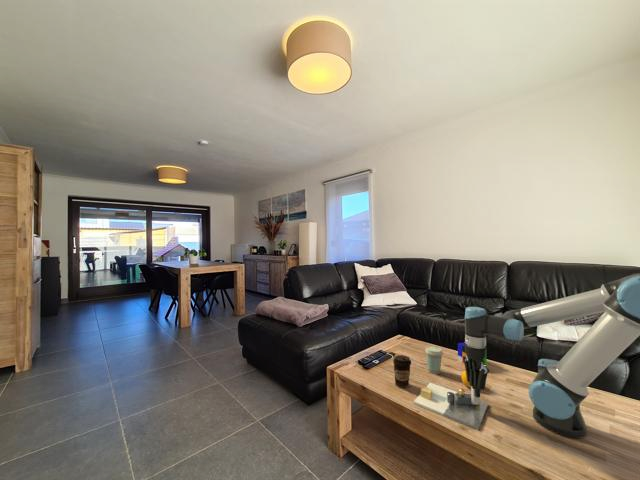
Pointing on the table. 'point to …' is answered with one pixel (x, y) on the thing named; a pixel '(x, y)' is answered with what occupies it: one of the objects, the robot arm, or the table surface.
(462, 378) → the orange
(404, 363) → the coffee cup
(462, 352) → the puzzle toy
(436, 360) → the coffee cup
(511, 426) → the table surface
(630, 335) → the robot arm
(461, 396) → the swing bar
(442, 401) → the door board
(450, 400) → the pivot post
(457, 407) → the plate
